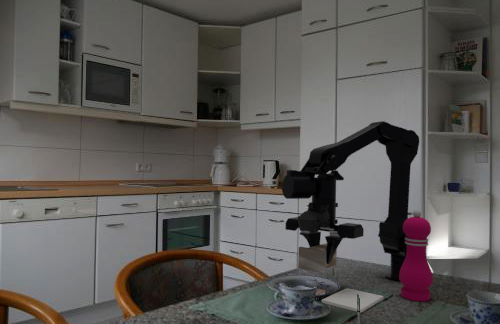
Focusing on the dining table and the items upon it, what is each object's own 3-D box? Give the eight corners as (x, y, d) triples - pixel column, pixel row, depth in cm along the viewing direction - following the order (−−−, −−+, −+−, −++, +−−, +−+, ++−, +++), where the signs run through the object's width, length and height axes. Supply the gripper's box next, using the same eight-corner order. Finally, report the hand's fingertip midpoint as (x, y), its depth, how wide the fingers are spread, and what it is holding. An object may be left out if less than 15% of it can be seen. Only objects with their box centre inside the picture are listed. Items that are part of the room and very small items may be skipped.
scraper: (318, 261, 106) (319, 242, 106) (343, 266, 102) (344, 245, 102) (298, 268, 98) (298, 247, 98) (324, 273, 94) (324, 251, 94)
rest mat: (346, 290, 98) (346, 288, 98) (383, 298, 93) (383, 296, 93) (321, 302, 89) (321, 299, 89) (360, 312, 83) (361, 309, 83)
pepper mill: (417, 304, 90) (419, 212, 90) (391, 294, 96) (393, 208, 96) (439, 299, 93) (441, 211, 93) (413, 290, 99) (415, 208, 100)
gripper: (273, 197, 100) (271, 261, 100) (343, 203, 88) (341, 276, 88) (298, 195, 109) (296, 254, 109) (365, 200, 97) (363, 267, 97)
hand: (322, 262), depth 100 cm, fingers closed on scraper, 3 cm apart
